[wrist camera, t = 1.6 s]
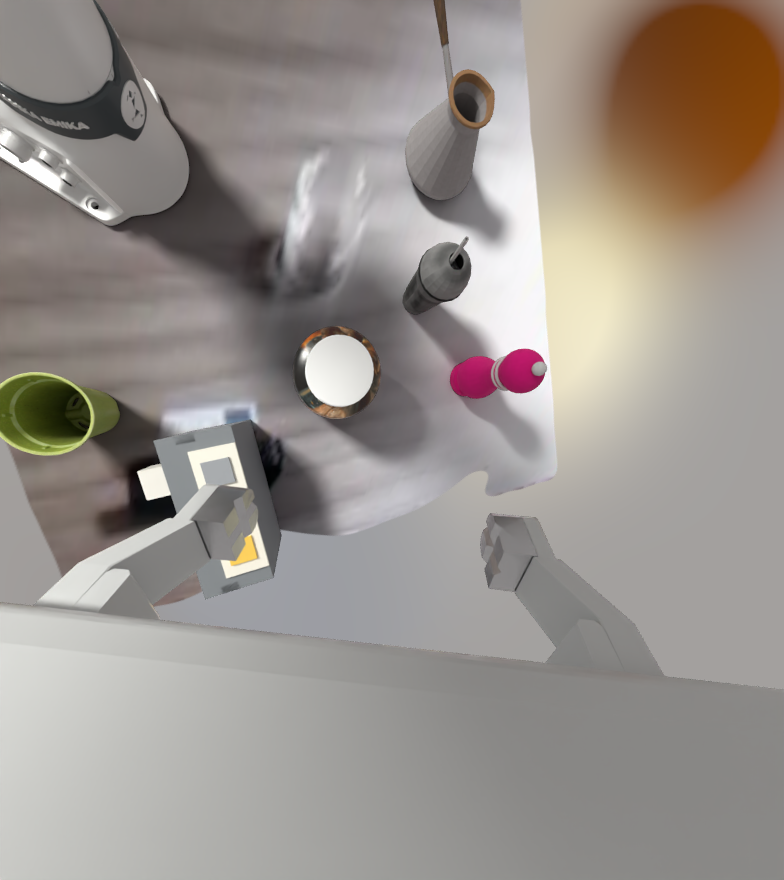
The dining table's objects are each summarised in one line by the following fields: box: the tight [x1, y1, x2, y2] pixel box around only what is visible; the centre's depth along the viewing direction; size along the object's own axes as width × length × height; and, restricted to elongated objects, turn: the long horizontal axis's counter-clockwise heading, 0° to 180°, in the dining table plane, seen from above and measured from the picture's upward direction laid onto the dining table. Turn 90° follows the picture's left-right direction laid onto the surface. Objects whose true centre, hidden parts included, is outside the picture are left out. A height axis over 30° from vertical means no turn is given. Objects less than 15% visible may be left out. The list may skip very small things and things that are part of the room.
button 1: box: [137, 464, 171, 500], centre depth 38 cm, size 5×4×4 cm
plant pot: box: [0, 372, 120, 455], centre depth 38 cm, size 9×9×9 cm
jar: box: [292, 326, 381, 419], centre depth 43 cm, size 12×12×15 cm
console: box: [153, 420, 281, 599], centre depth 42 cm, size 8×20×14 cm, turn 11°
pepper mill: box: [450, 349, 547, 399], centre depth 47 cm, size 7×7×20 cm
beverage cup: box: [403, 237, 471, 314], centre depth 43 cm, size 7×7×20 cm
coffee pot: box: [405, 0, 495, 200], centre depth 43 cm, size 21×12×15 cm, turn 28°
